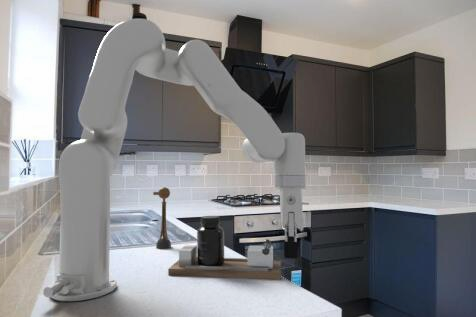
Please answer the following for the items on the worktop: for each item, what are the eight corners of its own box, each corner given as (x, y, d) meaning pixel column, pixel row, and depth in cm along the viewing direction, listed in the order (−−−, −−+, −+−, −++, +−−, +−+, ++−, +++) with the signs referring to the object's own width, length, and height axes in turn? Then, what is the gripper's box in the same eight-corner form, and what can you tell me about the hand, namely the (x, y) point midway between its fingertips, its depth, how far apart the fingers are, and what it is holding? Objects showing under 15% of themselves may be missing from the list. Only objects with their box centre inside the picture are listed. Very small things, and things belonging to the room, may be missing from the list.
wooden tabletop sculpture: (151, 249, 104) (152, 187, 105) (154, 246, 109) (154, 187, 110) (170, 248, 105) (170, 187, 106) (171, 245, 109) (172, 186, 110)
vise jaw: (272, 271, 74) (272, 248, 74) (246, 270, 75) (246, 247, 75) (273, 259, 85) (272, 238, 85) (250, 258, 85) (250, 238, 86)
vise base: (281, 279, 74) (280, 255, 74) (168, 275, 77) (168, 252, 78) (280, 267, 84) (280, 245, 84) (180, 263, 87) (180, 243, 88)
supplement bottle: (212, 259, 86) (212, 214, 87) (229, 264, 81) (229, 216, 82) (191, 264, 81) (191, 216, 82) (208, 270, 76) (208, 219, 77)
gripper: (308, 183, 72) (309, 266, 71) (303, 182, 87) (303, 250, 86) (274, 183, 73) (275, 265, 72) (275, 182, 88) (275, 250, 87)
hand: (290, 257), depth 79 cm, fingers closed
